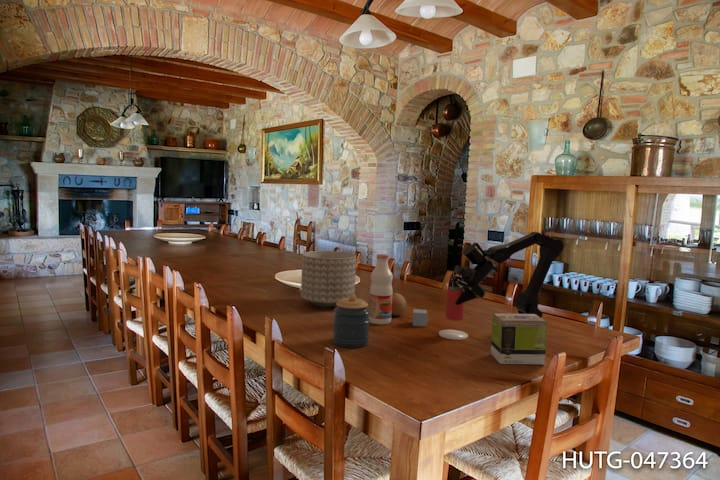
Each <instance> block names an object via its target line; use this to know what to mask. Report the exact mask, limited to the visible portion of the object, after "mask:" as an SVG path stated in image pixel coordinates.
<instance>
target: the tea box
mask: <svg viewBox="0 0 720 480" xmlns="http://www.w3.org/2000/svg"><path fill="white" fill-rule="evenodd" d="M491 321H492V323H491V324H492V325H491V340H490V341H491V343H490V344H491V345H490V355H491V356H492V357H493V358H494V360H496V362H497V363H499V365H543V366H544V365H546V352H547V350H546V349H547V336H548V335H547V333H548V321H547V320H545V319H544V318H540V317H539V316H537V315H536V314H519V313H503V312H502V313H500V312H499V313H498V312H497V313H496V312H495V313H492V318H491Z"/></svg>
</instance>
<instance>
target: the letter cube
mask: <svg viewBox="0 0 720 480" xmlns="http://www.w3.org/2000/svg"><path fill="white" fill-rule="evenodd" d="M427 324H428V310H427V309H416V308H413V310H412V327H423V328H424V327H426V328H428V327H427V326H428V325H427Z"/></svg>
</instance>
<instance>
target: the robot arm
mask: <svg viewBox="0 0 720 480" xmlns="http://www.w3.org/2000/svg"><path fill="white" fill-rule="evenodd" d="M534 245H537V246H539V260H538V261H537V263H536V266H535V269H534V270H533V273H532V276H531V277H530V279H529V282H528V285H527V287H526V289H525V290H523V291H519V292H518V293H517V297H516V298H515V300H514V301H515V303H514V306H515V309H516V310H517V312H518V313H517V314H536V315H537V316H539V317H540V318H542V317H543V315H544V314H543V312H542V311H541V310H540V308H539V304H540V300H539V294H540V291H541V289H542V287H543V284H544V282H545V281H546V280H545V279H547V278H546V277H547V275H548V274H549V270H550V268H551V266H552V263H553V262H554V261H556V260H557V258H559V257H560V255H561V254H562V252H563V250H564V247H565V246H564V242H563V241H562V240H561V239H559V238H554V237H550V236H548V235H545V234H543V233H541V232H537V231H531V232H529V233H528V234H526V235H524V236H521V237H519V238H516V239H515V240H513V241H509V242H508V243H506V244H498V245H494V246H490V247H488V249H485V250H483V248H482V247H481V245H480V244H479V243H478V242H475V241H474V242H473V243H472V244H469V245H467V246H466V247H465V248H464V249H463V250H462V255H463V256H464V258H466V259H467V261H468V262H469V263H470V264H471V265H475V266H474V267H473V268H471V267H469V266H465V267H462V266H461V265H457V264H456V265H455V267H454V269H453V271H452V273H453V274H452V276H451V277H450V278H449V279H450V280H451V283H452V287H461V288H463V291H464V292H463V293H462V295H461V296H460V297H459V298H458V300H457V301H456V303H455V304H456V305H459V304H462V303H464V304H465V303H467V302H469V301H473V300H475V299H478V298H479V299H481V300H482V299H483V298H484V297H485V295H486V291H485V290H484V289H483V287H481V286H480V284H481V283H483V284H484V283H485V282H486V280H485V279H486V277H488V276H489V275H490V274H491V272H493V273H496V274H498V273H499V270H498V269H499V268H498V267H499V266H498V265H497V264H503V263H505V262H507V260H509V259H510V258H511V257H512V255H514V254H516V253H518V252H521V251H522V250H525V249H527V248H529V247H531V246H534ZM494 263H497V264H494ZM542 319H543V318H542Z"/></svg>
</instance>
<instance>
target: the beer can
mask: <svg viewBox="0 0 720 480" xmlns="http://www.w3.org/2000/svg"><path fill="white" fill-rule="evenodd" d="M463 292H464V290H463V288H461V287H453V286H449V287H448V289H447V292H446V301H445V302H446V303H445V305H446V306H445V318H446V319H447V320H449V321H454V322H459V321H463V319H464V314H465V313H464V312H465V302H464V303H462V304H459V305H456V304H455V303H456V301H457V300H458V298H459V297H460V296H461V295H462V293H463Z"/></svg>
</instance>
